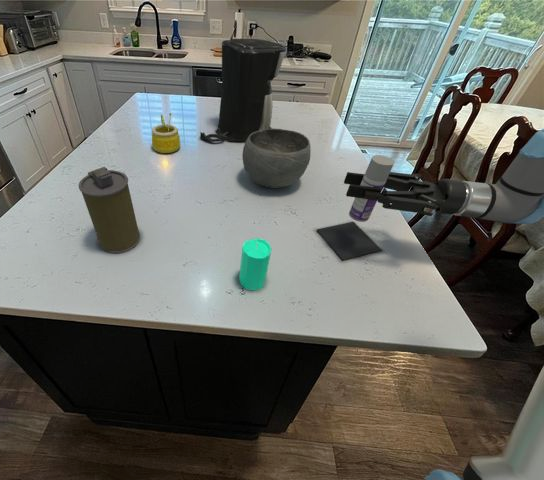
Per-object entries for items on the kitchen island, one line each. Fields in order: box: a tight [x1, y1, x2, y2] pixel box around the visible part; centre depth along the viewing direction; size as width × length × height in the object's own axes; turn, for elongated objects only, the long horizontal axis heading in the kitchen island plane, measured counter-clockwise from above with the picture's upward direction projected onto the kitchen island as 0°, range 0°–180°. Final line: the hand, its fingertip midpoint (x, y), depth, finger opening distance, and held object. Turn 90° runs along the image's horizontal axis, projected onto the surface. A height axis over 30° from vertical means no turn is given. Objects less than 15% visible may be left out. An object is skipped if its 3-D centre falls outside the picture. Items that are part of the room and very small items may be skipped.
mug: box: [151, 112, 181, 154], centre depth 112 cm, size 13×11×12 cm
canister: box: [78, 166, 141, 254], centre depth 70 cm, size 11×10×20 cm
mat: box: [316, 221, 383, 262], centre depth 79 cm, size 12×12×1 cm
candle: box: [238, 237, 272, 291], centre depth 64 cm, size 6×6×12 cm
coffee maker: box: [199, 38, 287, 143], centre depth 116 cm, size 23×32×34 cm
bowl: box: [241, 128, 312, 189], centre depth 95 cm, size 21×21×15 cm
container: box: [348, 154, 395, 223], centre depth 67 cm, size 5×5×15 cm
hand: (347, 183), depth 67 cm, fingers closed on container, 5 cm apart
